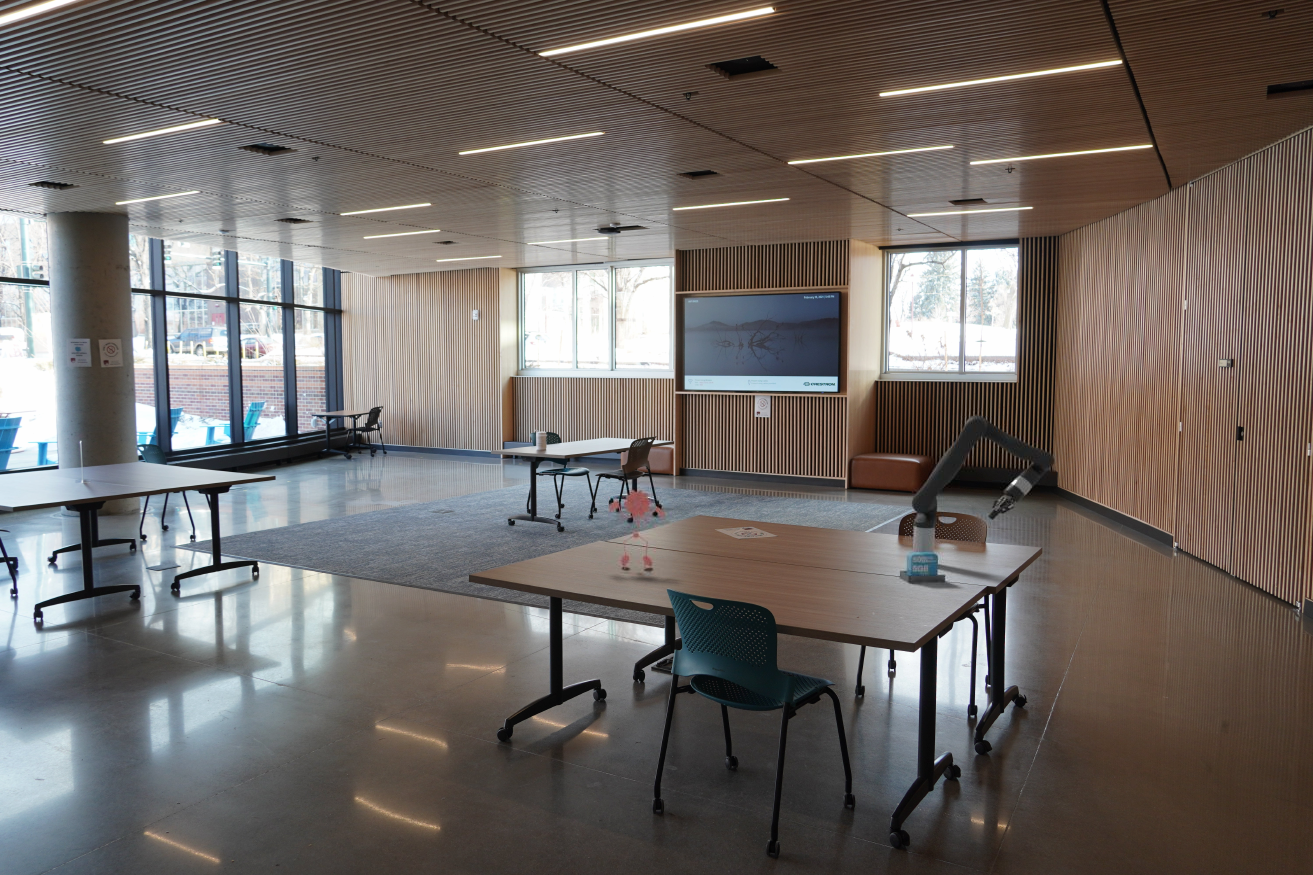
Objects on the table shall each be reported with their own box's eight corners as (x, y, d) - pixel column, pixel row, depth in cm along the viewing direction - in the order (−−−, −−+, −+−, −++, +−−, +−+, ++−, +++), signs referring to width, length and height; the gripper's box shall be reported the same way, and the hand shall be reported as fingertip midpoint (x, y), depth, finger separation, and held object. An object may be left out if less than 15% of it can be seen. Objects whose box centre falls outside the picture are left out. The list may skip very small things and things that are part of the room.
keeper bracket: (899, 577, 385) (899, 570, 385) (935, 576, 387) (935, 569, 387) (908, 583, 376) (909, 575, 375) (945, 581, 378) (945, 574, 378)
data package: (910, 582, 377) (911, 554, 376) (906, 580, 381) (906, 552, 380) (937, 581, 378) (938, 553, 377) (932, 579, 383) (933, 551, 382)
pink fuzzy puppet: (663, 571, 396) (663, 492, 394) (606, 568, 401) (606, 490, 399) (668, 564, 411) (669, 488, 410) (614, 562, 416) (614, 487, 414)
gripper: (1004, 481, 390) (976, 509, 390) (1020, 485, 377) (992, 514, 376) (1015, 493, 391) (988, 521, 391) (1031, 497, 378) (1003, 526, 378)
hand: (990, 518), depth 384 cm, fingers closed
